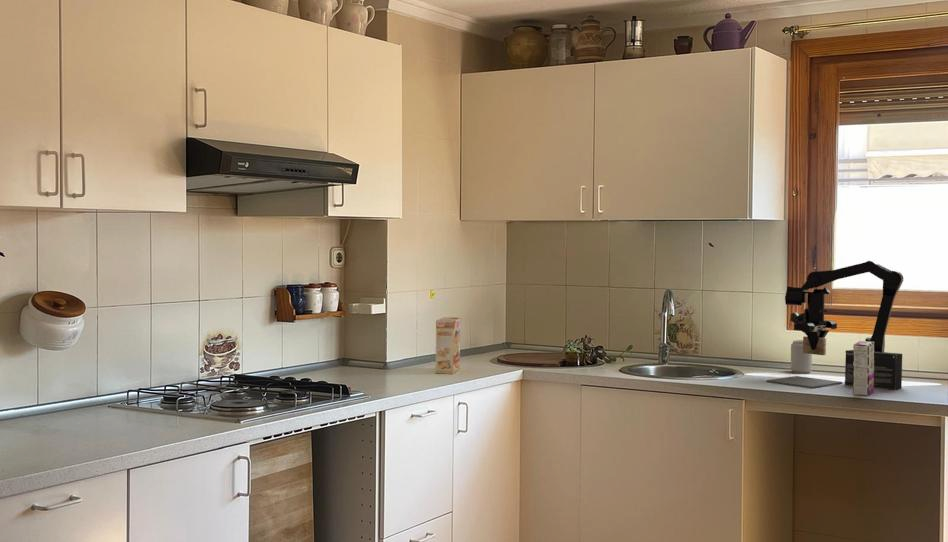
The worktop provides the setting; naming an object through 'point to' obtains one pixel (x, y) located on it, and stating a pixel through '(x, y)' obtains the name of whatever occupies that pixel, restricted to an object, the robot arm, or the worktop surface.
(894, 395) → the worktop surface
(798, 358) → the can
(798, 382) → the mat
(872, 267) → the robot arm
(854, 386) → the candy bar box
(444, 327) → the coffeecake box
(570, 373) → the worktop surface
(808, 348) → the tile
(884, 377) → the box
